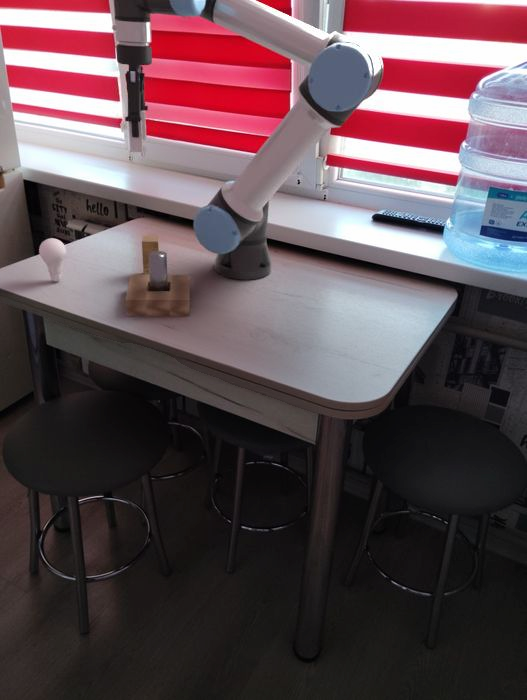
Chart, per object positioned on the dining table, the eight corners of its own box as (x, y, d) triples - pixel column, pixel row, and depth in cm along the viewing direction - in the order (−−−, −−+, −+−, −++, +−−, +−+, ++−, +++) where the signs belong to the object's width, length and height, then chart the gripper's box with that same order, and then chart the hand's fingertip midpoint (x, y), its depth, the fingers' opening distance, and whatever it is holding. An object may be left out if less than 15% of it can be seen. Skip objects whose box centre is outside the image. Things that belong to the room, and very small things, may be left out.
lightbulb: (62, 288, 143) (56, 244, 138) (38, 284, 144) (32, 241, 139) (74, 278, 148) (69, 236, 143) (51, 275, 149) (45, 233, 144)
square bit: (160, 272, 155) (158, 236, 150) (159, 278, 151) (158, 241, 146) (144, 272, 154) (142, 235, 149) (143, 278, 151) (141, 241, 146)
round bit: (168, 298, 142) (166, 251, 136) (167, 305, 138) (166, 257, 132) (151, 298, 141) (149, 250, 135) (150, 305, 138) (148, 257, 132)
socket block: (189, 289, 147) (189, 274, 145) (189, 315, 135) (189, 299, 133) (131, 289, 145) (130, 274, 143) (126, 315, 133) (125, 299, 131)
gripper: (121, 39, 138) (126, 134, 149) (109, 46, 117) (117, 157, 128) (153, 41, 139) (157, 135, 150) (148, 49, 118) (152, 158, 129)
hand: (138, 145), depth 139 cm, fingers open, 13 cm apart
